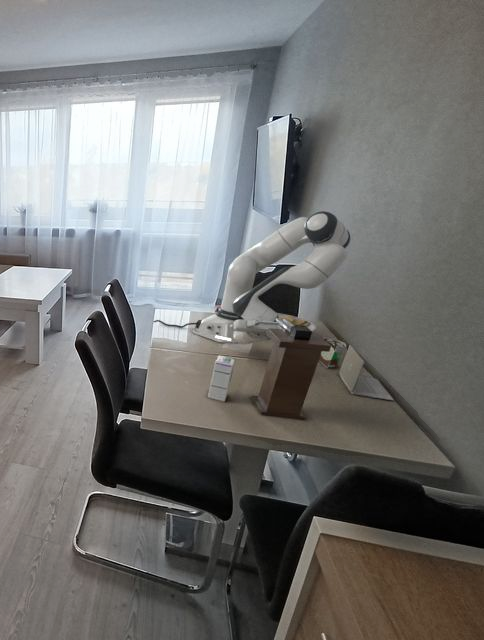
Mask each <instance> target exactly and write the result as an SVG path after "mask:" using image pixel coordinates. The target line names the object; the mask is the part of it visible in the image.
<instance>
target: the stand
mask: <svg viewBox="0 0 484 640" xmlns="http://www.w3.org/2000/svg"><path fill="white" fill-rule="evenodd" d="M266 334H267V335H268V336H269V337H270V339H269V340H271V341H272V342H273V346H272V349H271V351H270V355H269V359H268V361H267V365H266V368H265V372H264V376H263V380H262V382H261V385H260V389H259V393H258V395H251V397H250V400H251V402H252V403H253V404H254V406H255V407H256V409H257V411H258V412H259V414H260V415H262V416H269V417H277V418H285V419H292V420H293V419H294V420H301V421H305V419H306V416H305V414H304V413H303V412H302V410H303V407H304V404H305V401H306V398H307V394H308V392H309V389H310V388H311V387H310V386H311V384H312V381H313V378H314V375H315V372H316V369H317V366H318V364H319V362H320V361H319V358H320V355H321V352H322V351H325V352H329V351H330V348H331V345H330V344H328V343H327V342H326V341H324V340H323V337H321V336H320V335H318V334H317V333H316V332H315V331H314V332H312V334H311V337H310V340H297V339H293V338H292V337H291V336H290V335H289V332H288V331H287V330H284V329H272V328H267V331H266Z"/></svg>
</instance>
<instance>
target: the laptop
mask: <svg viewBox="0 0 484 640" xmlns="http://www.w3.org/2000/svg"><path fill="white" fill-rule="evenodd" d="M364 365H365V360H363V358H362V357H361V355H359V354H358V352H357V351H356V350H355V348H354V347H353V346H352V344H349V345H348V347H347V349H346V353H345V356H344V359H343V362H342V364H341V366H340V369H339V371H338V375H339V376H340V378H341V379H342V381H343V383H344V384H345V386H346V387H347V389H348V390H349V392H350V394H352V395H355V396H356V395H357V396H360V397H369V398H375V399H381V400H388V401H394V398H393V397H392V396H391V394H390V393H389V391H388V390H387V389H386V388H385V387H384V386H383V384H382V383H381V382H380V380H379V379H378V378H375V377H369V376H363V375H361V373H362V370H363V367H364Z"/></svg>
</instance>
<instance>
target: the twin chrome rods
mask: <svg viewBox="0 0 484 640" xmlns="http://www.w3.org/2000/svg"><path fill="white" fill-rule="evenodd" d="M276 321H277V322H278V323H279V324H280V325H281V326H282V327H283V328H284V329H286V330H287V331H288V332H289V335H290V336H291V337H292V338H293V339H297V340H310V337H311V334H312V331H311V330H310V329H308V328H307V327H298V326H294V325H293V324H292V323H291V322H289V321H288V320H287V319H283V321H284V322H285V323H286V324H287V325H288V326H289V327H290V328H289V327H288V326H287V325H286V324H285V323H284V322H283V321H281V320H280V319H279V318H276Z"/></svg>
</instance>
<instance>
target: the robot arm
mask: <svg viewBox="0 0 484 640" xmlns="http://www.w3.org/2000/svg"><path fill="white" fill-rule="evenodd" d="M350 242H351V234H350V231H349V230H348V229H347V227H346V226H345V224H344V222H342V221H341V220H339V218H337V216H336V215H335V214H333V213H332V212H329V211H323V210H322V211H321V210H320V211H317V212H315V213H312V214H311V215H309V216H308V217H306V216H301V217H297V218H296V219H294V220H292V221H290V222H288V223H286V224H285V225H283V226H282V227H280V228H278V229H277V230H275V231H274V232H273V233H271V234H269V235H268V236H267V237H265V238H264V239H263V240H261V241H259V242H258V243H257V244H255V245H254V246H252V247H250V248H249V249H247V250H246V251H244V252H242V253H241V254H239V255H238V256H237V257H236V258H235V259H234V260H233V261H232V262H231V264H230V265H229V267H228V269H227V275H226V280H225V285H224V292H223V296H222V300H221V305H217V307H216V308H215V309H214V314H212V315H209V316H206V317H204V318H203V319H198V320H197V321H196V322H188V323H185V324H184V325H178V324H169V323H166V322H164V321H162V320H160V319H155V320H154V321H153V323H157V322H158V323H160V324H162V325H165V326H167V327H176V328H180V329H181V328H182V329H183V328H185V327H187V326H190V325H195V328H193V330H192V333H193V334H195V335H197V336H201V337H202V338H206V339H208V340H212V341H214V342H218V343H222V344H223V343H230V344H231V343H232V344H234V343H235V344H237V343H238V344H241V345H248V344H249V345H250V344H253V343H255V342H258V341H265V340H271V339H270V337H269V336H268V335H267V334H266V331H267V328H272V329H284V328H283V327H282V326H281V325H280V324H279V323H278V322H277V321H276V318H278V314H277V313H278V312H276V311H275V310H273V309H272V308H271V307H269V306H268V305H266V304H265V302H263V301H261V300H260V299H259V297H260V296H261V295H263V294H264V293H265V292H267V291H269V290H270V289H271V288H273V287H274V286H276V285H281V284H283V285H288V286H291V287H295V288H298V289H304V290H311V289H314V288H318V287H319V286H320V285H322V284H323V283H325V281H327V280H328V279H329V278H330V277H331V276H333V274H334V273H335V272H336V271H337V270H338V269H339V268H340V267H341V265H342V264H343V263H344V262H345V261H346V259H347V258H348V252H347V250H346V249H347V247H349V244H350ZM306 244H312V245H313V246H314V248H313V251H311V253H310V254H309V255H307V257H306V258H304V259H303V260H302V261H301V262H300V263H298V264H296V265H294V266H285V267H282V268H280V269H278V270H277V271H276V272H274V273H272V274H271V275H270V276H268V277H267V278H265V279H264V280H262V281H261V282H260V283H258V284H257V285H255V286H254V282H255V279H256V274H258V273H260V272H261V271H263V270H265V269H267V268H268V267H270V266H272V265H273V264H276V263H278V262H279V261H280V260H282V259H283V258H285V257H286V256H288V255H290V254H291V253H293V252H294V251H295V250H297V249H299V248H300V247H301V246H304V245H306ZM284 323H285V322H284ZM285 324H286V323H285ZM286 325H287V324H286ZM287 326H288V325H287ZM288 327H289V326H288ZM289 328H290V327H289ZM284 330H286V329H284Z"/></svg>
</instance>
